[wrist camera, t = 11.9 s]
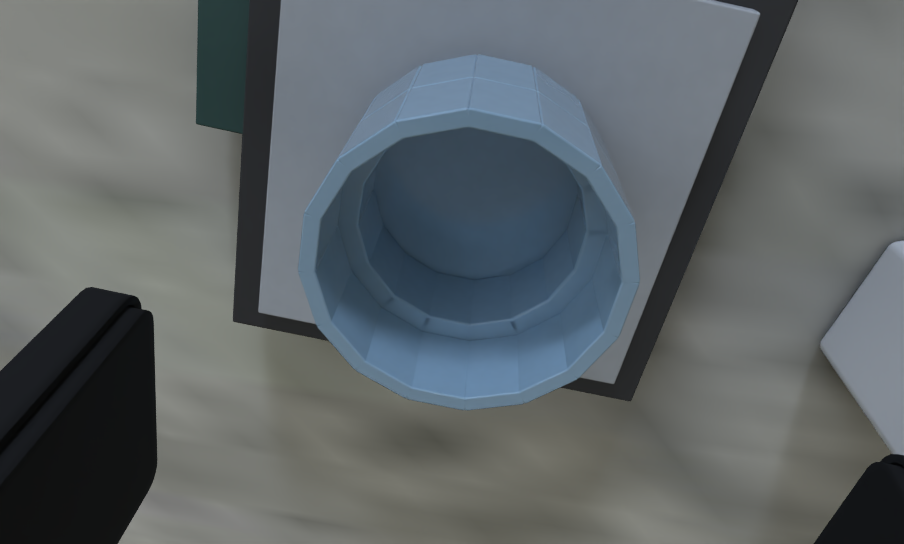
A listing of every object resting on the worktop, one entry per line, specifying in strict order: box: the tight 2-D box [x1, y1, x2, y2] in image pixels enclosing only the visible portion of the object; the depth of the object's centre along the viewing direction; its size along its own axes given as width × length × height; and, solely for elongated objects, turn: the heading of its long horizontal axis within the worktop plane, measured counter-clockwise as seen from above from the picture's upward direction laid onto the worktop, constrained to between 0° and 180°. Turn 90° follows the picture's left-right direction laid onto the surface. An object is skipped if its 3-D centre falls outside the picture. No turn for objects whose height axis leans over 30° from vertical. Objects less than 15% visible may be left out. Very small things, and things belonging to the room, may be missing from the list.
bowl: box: [298, 54, 640, 410], centre depth 18 cm, size 7×7×6 cm
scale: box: [196, 0, 798, 401], centre depth 22 cm, size 14×16×4 cm
